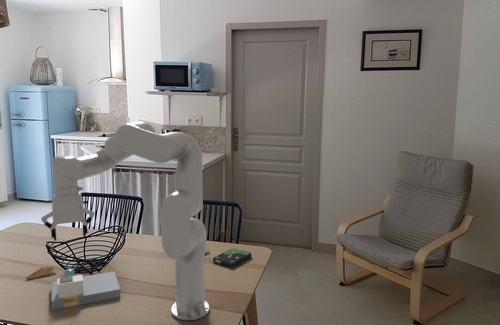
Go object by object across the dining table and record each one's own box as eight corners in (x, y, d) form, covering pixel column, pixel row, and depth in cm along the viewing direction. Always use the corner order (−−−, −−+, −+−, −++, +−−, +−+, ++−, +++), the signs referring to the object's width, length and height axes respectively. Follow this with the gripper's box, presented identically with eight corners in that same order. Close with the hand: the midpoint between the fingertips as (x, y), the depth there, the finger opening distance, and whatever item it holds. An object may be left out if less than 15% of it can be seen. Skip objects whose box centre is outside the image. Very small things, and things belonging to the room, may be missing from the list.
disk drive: (231, 270, 171) (251, 258, 183) (231, 263, 170) (251, 252, 182) (212, 264, 177) (233, 252, 189) (212, 257, 176) (233, 247, 188)
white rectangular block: (83, 294, 142) (82, 279, 141) (58, 298, 138) (57, 283, 138) (83, 287, 146) (82, 273, 145) (58, 291, 143) (57, 277, 142)
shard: (25, 281, 158) (25, 277, 158) (24, 274, 164) (23, 269, 164) (56, 275, 164) (56, 271, 163) (53, 268, 170) (53, 264, 170)
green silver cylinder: (75, 291, 149) (74, 271, 148) (65, 293, 148) (64, 272, 147) (75, 288, 152) (73, 267, 151) (65, 289, 151) (64, 269, 150)
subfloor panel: (120, 297, 146) (120, 289, 146) (52, 310, 137) (51, 301, 136) (114, 278, 160) (114, 271, 160) (52, 289, 151) (51, 281, 151)
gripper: (92, 186, 151) (94, 231, 154) (39, 190, 144) (43, 237, 146) (93, 190, 144) (96, 237, 147) (38, 195, 137) (42, 244, 140)
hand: (70, 237), depth 147 cm, fingers open, 9 cm apart
